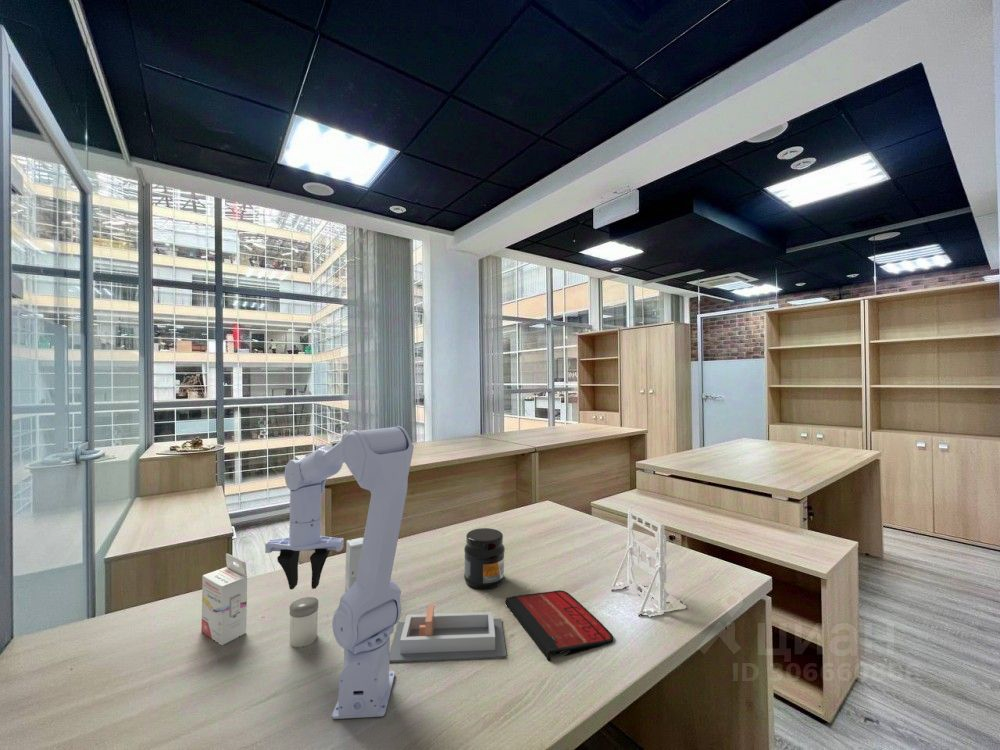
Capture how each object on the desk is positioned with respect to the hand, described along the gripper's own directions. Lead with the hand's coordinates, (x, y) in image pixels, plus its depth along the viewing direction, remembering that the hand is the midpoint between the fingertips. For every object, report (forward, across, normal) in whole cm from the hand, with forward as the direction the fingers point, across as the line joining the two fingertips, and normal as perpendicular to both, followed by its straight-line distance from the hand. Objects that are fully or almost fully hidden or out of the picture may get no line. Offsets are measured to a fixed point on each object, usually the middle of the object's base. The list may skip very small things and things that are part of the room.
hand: (304, 586), depth 82 cm
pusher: (+10, -24, +2) cm, 26 cm away
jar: (+10, 0, 0) cm, 10 cm away
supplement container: (+11, -37, -22) cm, 44 cm away
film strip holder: (+11, -76, -11) cm, 78 cm away
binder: (+11, -52, -3) cm, 53 cm away
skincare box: (+11, -6, -19) cm, 23 cm away
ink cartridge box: (+11, +17, -3) cm, 20 cm away
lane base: (+10, -29, +2) cm, 31 cm away
